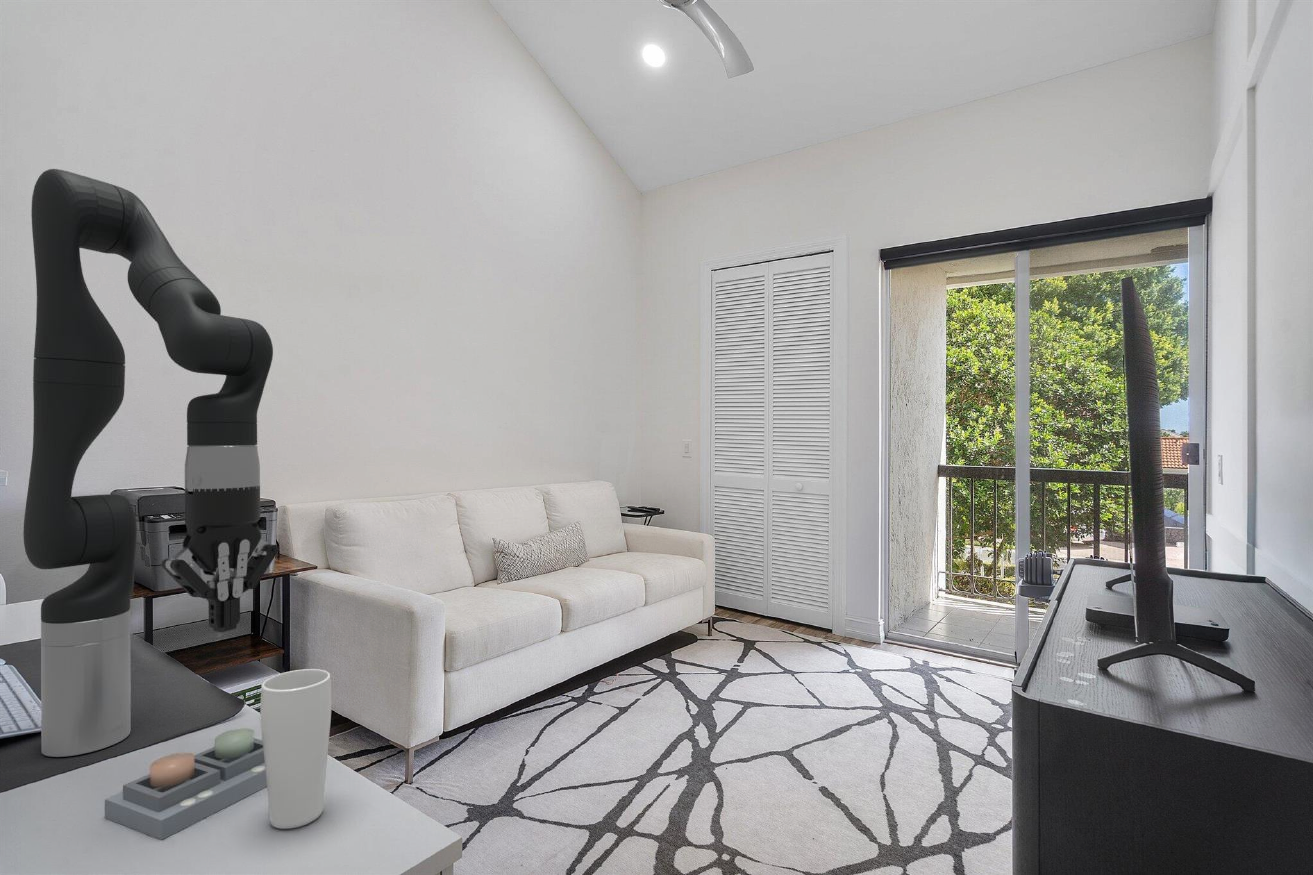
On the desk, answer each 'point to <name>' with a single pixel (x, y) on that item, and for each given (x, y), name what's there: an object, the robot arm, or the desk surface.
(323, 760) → the drinking glass
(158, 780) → the button two
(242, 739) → the button one
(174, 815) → the two-button control panel
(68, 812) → the desk surface
